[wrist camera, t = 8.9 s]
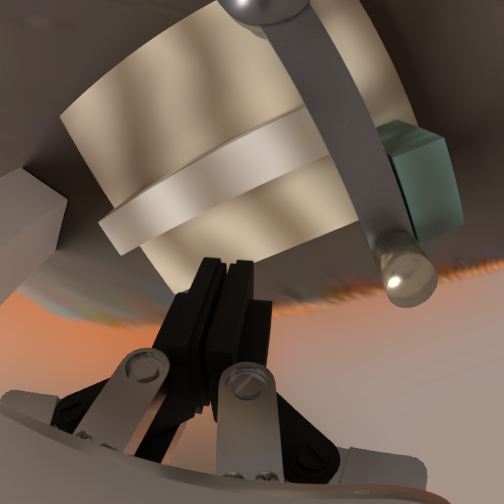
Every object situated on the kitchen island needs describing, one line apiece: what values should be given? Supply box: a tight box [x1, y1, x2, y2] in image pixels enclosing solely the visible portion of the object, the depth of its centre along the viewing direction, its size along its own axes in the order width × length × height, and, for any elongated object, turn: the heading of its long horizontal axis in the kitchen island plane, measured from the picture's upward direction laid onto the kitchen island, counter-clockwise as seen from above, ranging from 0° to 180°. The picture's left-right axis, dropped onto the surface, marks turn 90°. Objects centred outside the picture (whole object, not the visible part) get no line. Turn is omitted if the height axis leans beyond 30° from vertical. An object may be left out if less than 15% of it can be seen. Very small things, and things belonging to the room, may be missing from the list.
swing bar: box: [217, 0, 438, 308], centre depth 13 cm, size 18×4×6 cm, turn 29°
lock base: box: [60, 0, 465, 294], centre depth 18 cm, size 24×19×9 cm
